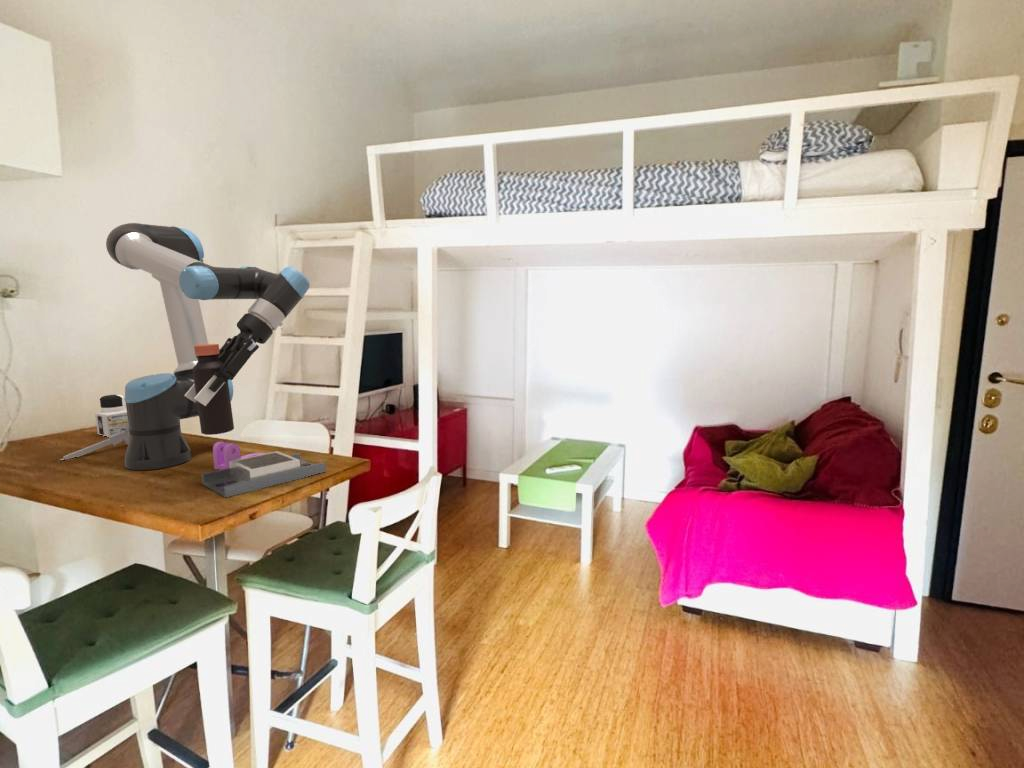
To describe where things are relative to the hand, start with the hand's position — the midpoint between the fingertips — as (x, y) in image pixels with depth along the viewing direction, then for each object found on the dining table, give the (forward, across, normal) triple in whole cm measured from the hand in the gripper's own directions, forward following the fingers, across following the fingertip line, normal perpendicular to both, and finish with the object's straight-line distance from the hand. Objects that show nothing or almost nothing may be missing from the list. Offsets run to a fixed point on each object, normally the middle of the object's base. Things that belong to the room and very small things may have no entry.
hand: (194, 400), depth 125 cm
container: (+15, +82, -14) cm, 85 cm away
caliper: (+21, +59, -8) cm, 63 cm away
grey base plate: (+6, -1, -24) cm, 25 cm away
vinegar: (+3, 0, -8) cm, 9 cm away
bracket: (+5, +16, -25) cm, 30 cm away
